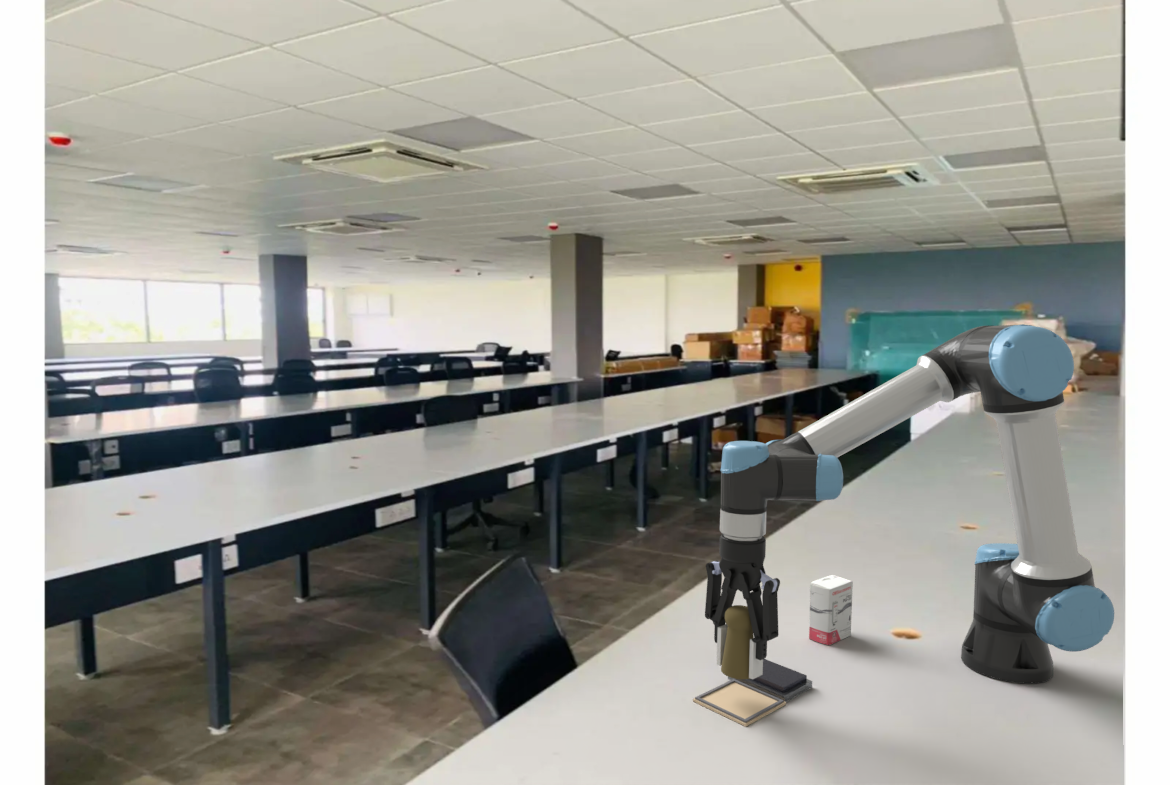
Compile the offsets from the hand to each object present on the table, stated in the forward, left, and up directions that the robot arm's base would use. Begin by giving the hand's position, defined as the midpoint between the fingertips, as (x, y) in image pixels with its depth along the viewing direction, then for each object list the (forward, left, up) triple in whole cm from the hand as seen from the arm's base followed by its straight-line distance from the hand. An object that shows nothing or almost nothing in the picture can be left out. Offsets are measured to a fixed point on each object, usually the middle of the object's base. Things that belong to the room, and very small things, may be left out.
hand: (739, 669), depth 129 cm
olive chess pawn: (0, 0, -1) cm, 1 cm away
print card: (0, 0, -6) cm, 6 cm away
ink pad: (+1, -10, -6) cm, 12 cm away
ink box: (+5, -37, -6) cm, 37 cm away
